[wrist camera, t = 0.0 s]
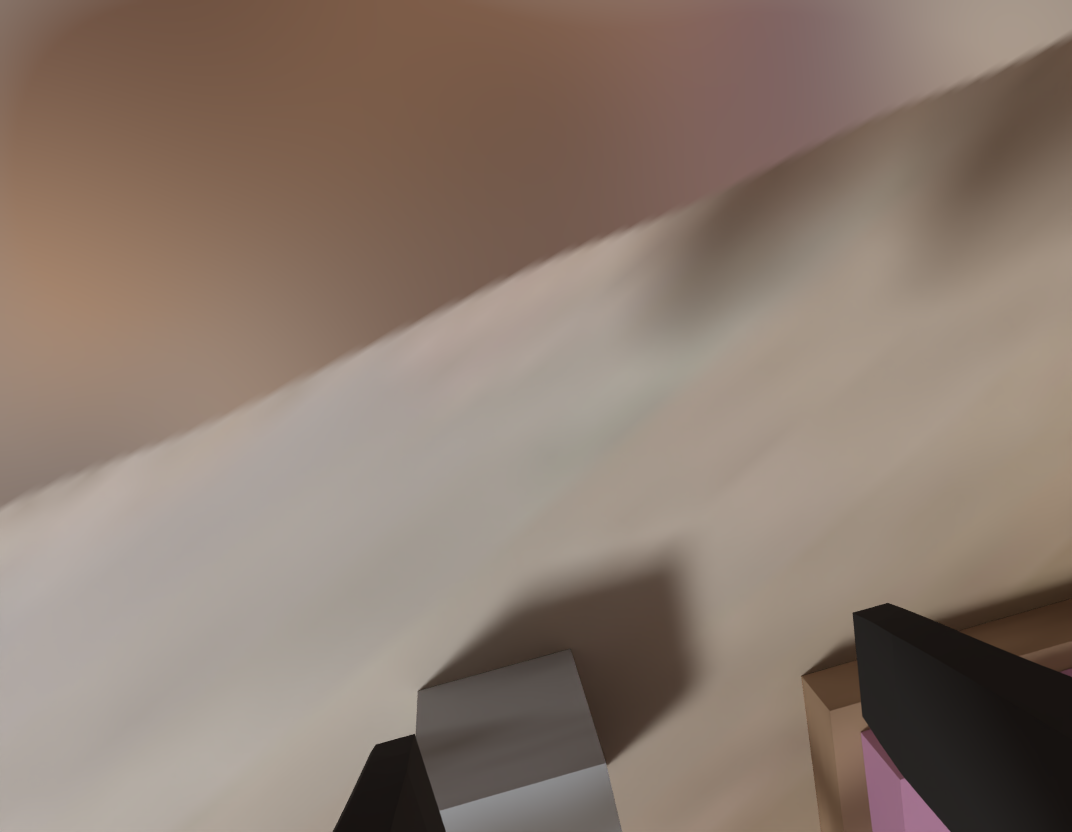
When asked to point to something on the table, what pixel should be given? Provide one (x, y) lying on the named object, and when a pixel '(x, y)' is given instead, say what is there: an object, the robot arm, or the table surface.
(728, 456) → the table surface
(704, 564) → the table surface
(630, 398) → the table surface
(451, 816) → the slate cube
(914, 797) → the plum top block
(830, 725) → the walnut base block
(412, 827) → the robot arm
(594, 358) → the table surface
